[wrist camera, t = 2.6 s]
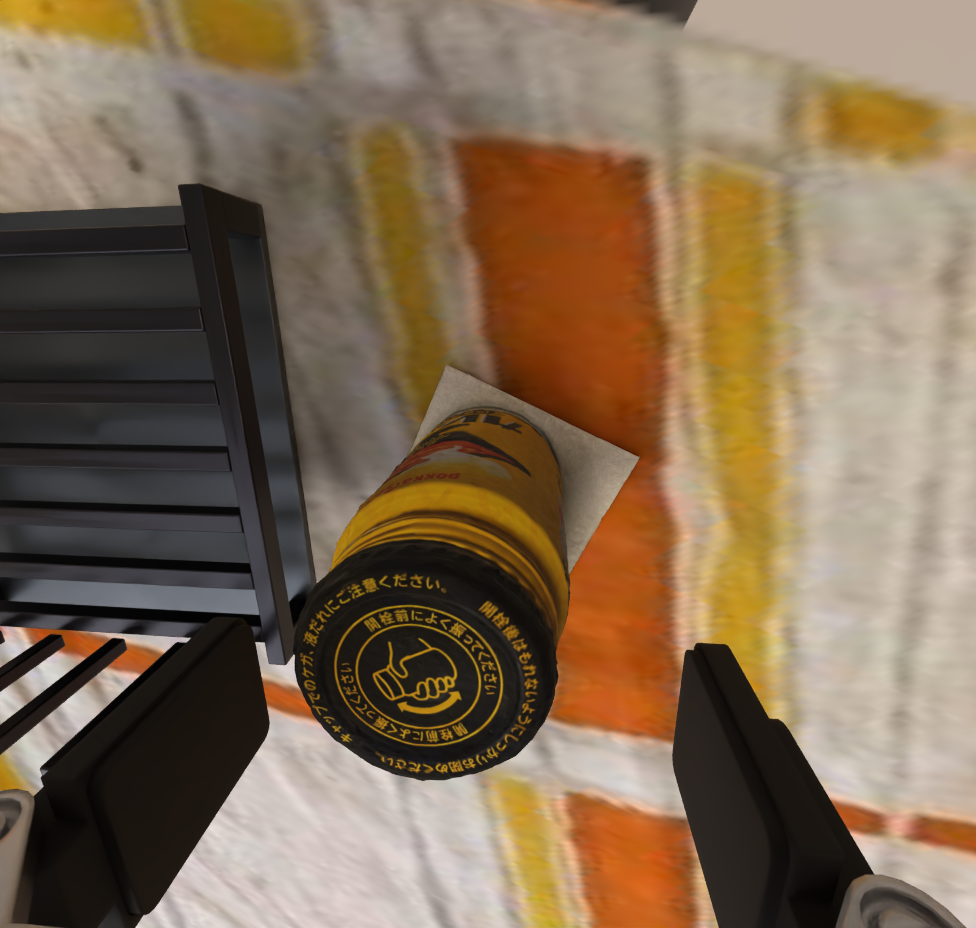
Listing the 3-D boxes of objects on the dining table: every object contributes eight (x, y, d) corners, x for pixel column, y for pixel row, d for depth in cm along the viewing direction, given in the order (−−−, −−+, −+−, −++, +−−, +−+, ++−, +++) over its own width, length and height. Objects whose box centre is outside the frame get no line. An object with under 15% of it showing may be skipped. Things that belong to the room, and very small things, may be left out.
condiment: (447, 364, 19) (305, 452, 8) (639, 456, 19) (769, 669, 8) (383, 514, 22) (205, 748, 10) (555, 594, 22) (565, 907, 11)
